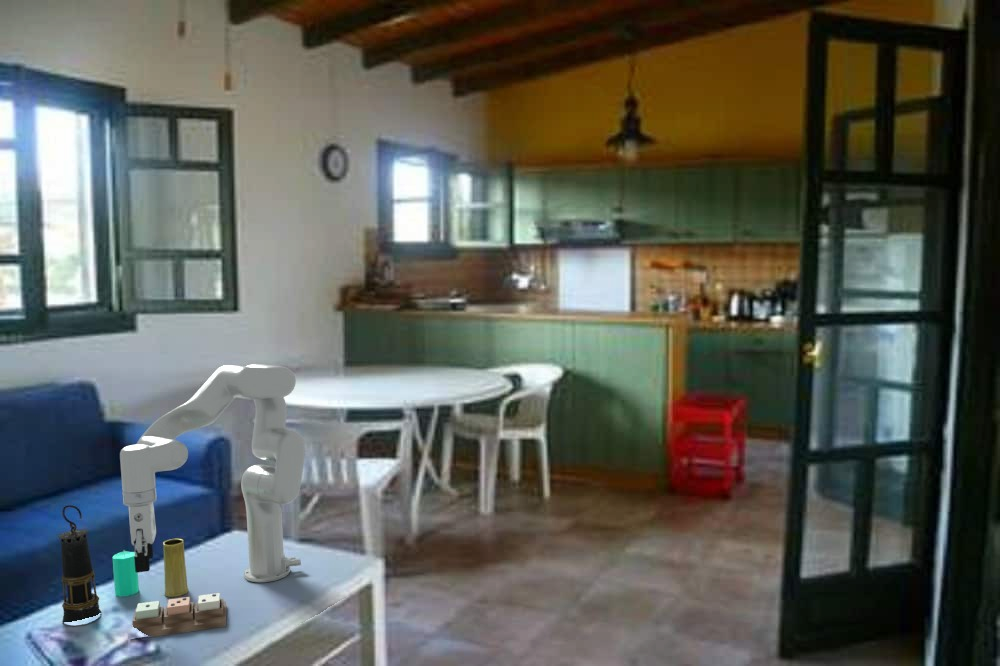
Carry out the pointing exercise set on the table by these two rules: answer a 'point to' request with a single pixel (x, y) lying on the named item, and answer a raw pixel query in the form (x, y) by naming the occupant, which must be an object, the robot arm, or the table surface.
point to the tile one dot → (147, 610)
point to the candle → (125, 574)
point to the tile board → (182, 621)
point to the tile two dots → (209, 602)
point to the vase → (174, 568)
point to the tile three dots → (178, 606)
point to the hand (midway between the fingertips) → (144, 564)
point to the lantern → (77, 574)
